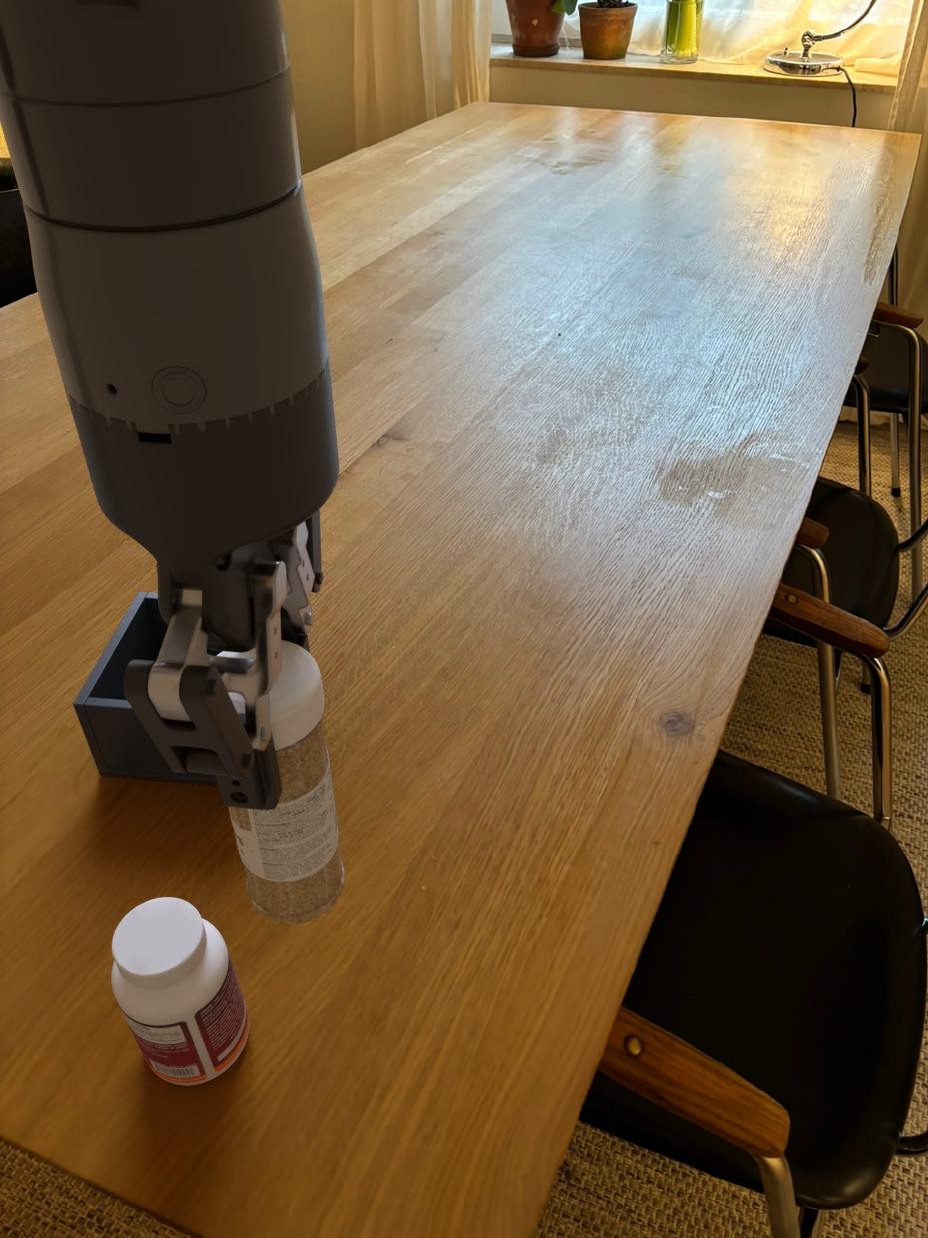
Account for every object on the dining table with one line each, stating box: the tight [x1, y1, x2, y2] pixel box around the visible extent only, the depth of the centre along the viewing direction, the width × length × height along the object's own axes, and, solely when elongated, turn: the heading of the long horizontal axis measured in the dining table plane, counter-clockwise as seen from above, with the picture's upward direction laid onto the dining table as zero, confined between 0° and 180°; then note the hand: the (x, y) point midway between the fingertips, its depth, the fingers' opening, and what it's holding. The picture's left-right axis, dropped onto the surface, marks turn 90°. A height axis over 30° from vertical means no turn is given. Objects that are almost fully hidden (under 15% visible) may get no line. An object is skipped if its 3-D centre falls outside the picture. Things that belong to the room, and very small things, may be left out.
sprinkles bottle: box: [217, 640, 346, 926], centre depth 41 cm, size 5×5×14 cm
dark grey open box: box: [72, 590, 223, 787], centre depth 76 cm, size 13×13×8 cm
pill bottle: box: [110, 896, 250, 1086], centre depth 55 cm, size 6×6×11 cm
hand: (271, 748), depth 39 cm, fingers closed on sprinkles bottle, 4 cm apart
